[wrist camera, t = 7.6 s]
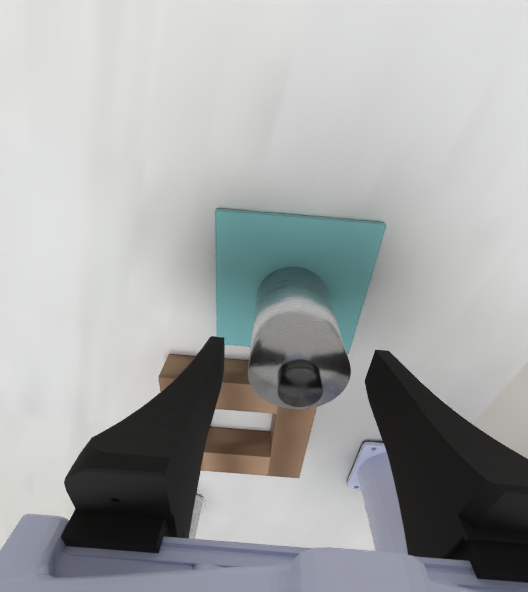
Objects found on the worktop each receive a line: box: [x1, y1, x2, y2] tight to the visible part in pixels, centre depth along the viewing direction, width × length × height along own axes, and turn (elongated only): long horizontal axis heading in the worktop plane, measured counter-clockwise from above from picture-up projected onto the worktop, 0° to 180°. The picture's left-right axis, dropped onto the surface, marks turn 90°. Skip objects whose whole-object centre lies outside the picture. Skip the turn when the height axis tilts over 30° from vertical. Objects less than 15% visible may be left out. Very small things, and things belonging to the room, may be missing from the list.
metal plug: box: [248, 267, 351, 409], centre depth 16 cm, size 5×5×8 cm
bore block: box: [158, 354, 317, 478], centre depth 25 cm, size 12×12×2 cm
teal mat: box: [215, 208, 386, 354], centre depth 20 cm, size 10×10×1 cm
